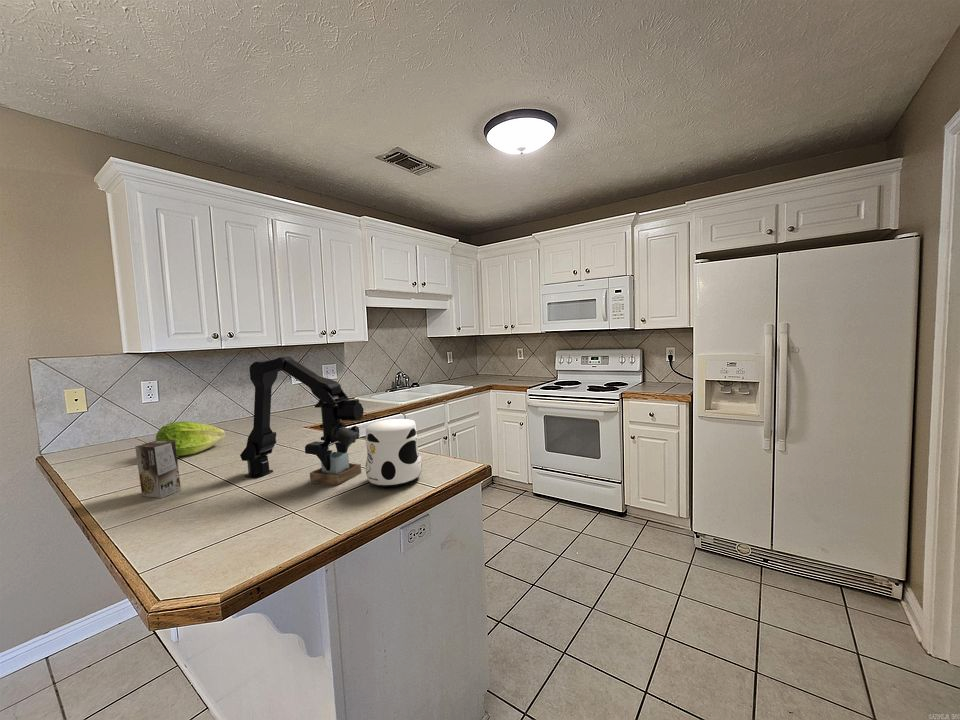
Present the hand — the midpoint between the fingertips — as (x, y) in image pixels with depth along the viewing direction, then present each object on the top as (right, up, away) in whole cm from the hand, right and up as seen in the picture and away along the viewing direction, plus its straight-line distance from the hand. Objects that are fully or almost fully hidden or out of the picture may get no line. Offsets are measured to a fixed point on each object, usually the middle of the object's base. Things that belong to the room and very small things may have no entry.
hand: (335, 467), depth 131 cm
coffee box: (-53, -7, -5) cm, 54 cm away
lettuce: (-75, -5, +40) cm, 85 cm away
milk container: (+21, -3, -5) cm, 22 cm away
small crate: (0, -1, 0) cm, 1 cm away
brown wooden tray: (0, -4, 0) cm, 4 cm away
